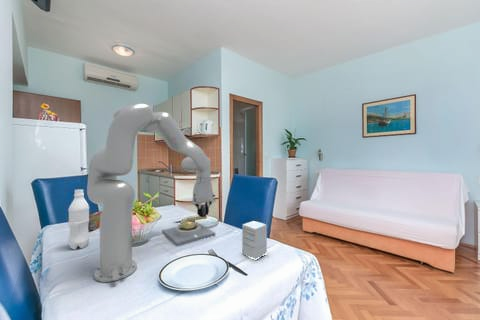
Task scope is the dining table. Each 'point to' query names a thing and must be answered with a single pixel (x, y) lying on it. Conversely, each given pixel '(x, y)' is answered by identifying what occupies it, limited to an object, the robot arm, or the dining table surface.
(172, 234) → the base plate
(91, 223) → the tin
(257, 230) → the supplement box
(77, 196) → the water bottle
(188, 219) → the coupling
